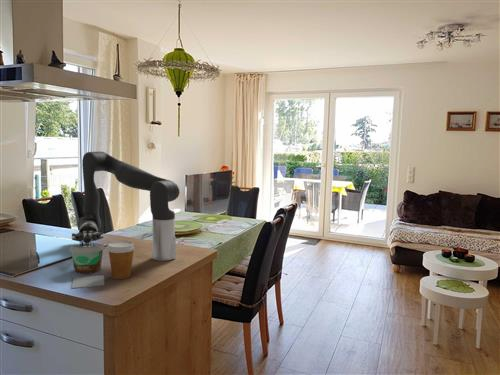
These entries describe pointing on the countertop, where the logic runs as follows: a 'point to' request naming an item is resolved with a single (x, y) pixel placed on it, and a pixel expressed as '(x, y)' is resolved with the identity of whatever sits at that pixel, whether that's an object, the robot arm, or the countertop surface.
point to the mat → (88, 281)
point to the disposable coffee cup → (121, 258)
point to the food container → (87, 258)
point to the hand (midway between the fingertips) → (87, 240)
